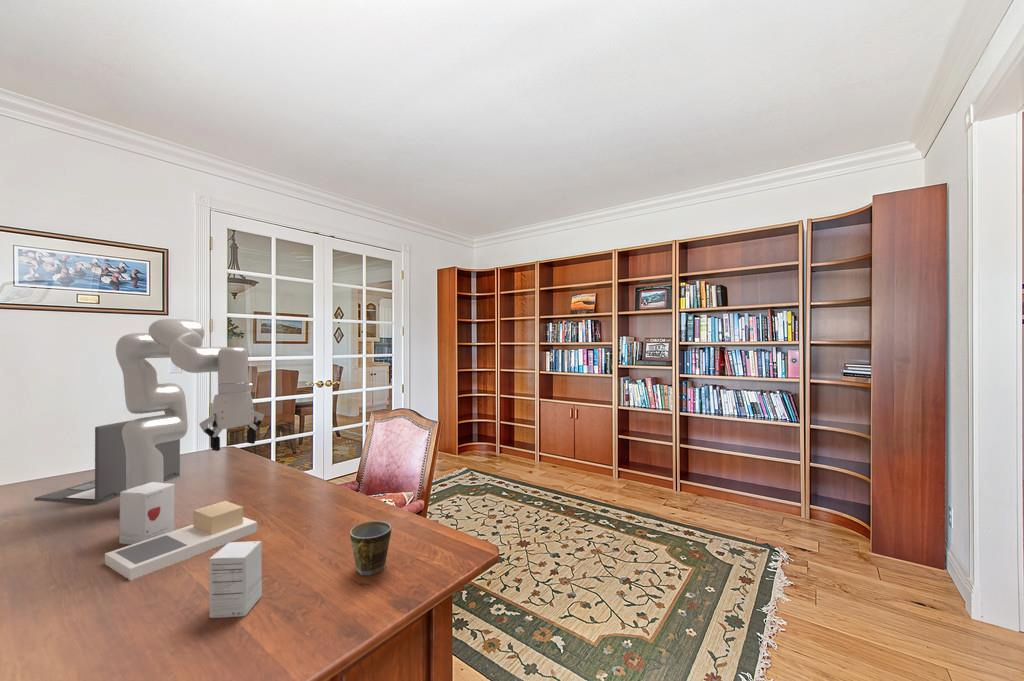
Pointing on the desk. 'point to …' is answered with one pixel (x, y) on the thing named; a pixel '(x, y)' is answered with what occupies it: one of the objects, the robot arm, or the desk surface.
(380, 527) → the ceramic cup
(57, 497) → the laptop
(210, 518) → the kraft carton
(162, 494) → the supplement box
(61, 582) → the desk surface
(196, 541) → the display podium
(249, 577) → the supplement box
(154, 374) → the robot arm
